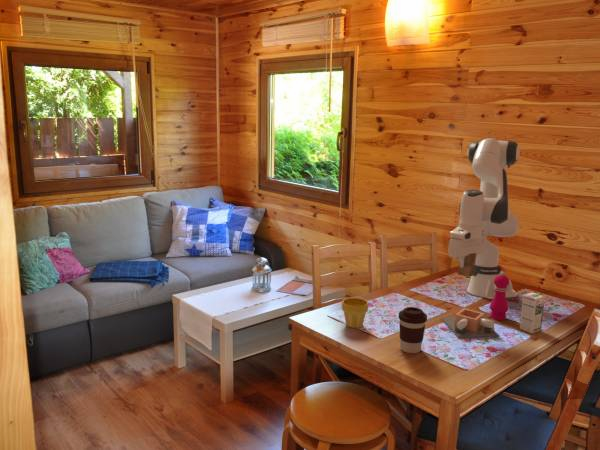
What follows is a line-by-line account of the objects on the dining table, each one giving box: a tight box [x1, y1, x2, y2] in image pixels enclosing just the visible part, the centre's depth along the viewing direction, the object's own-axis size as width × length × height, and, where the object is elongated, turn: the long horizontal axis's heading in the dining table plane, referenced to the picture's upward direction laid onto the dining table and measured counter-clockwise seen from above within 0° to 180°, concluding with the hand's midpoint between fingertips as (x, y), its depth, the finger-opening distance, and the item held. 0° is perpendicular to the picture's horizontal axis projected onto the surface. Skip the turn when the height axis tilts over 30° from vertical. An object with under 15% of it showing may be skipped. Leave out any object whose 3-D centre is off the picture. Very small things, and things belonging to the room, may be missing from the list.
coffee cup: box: [398, 306, 428, 354], centre depth 185 cm, size 10×10×15 cm
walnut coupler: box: [457, 253, 476, 278], centre depth 205 cm, size 4×4×9 cm
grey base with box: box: [440, 307, 500, 339], centre depth 205 cm, size 18×16×6 cm
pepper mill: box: [489, 271, 510, 321], centre depth 215 cm, size 7×7×20 cm
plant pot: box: [341, 297, 369, 329], centre depth 206 cm, size 10×10×10 cm
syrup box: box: [519, 292, 546, 334], centre depth 204 cm, size 6×6×14 cm
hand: (466, 265), depth 206 cm, fingers closed on walnut coupler, 4 cm apart
